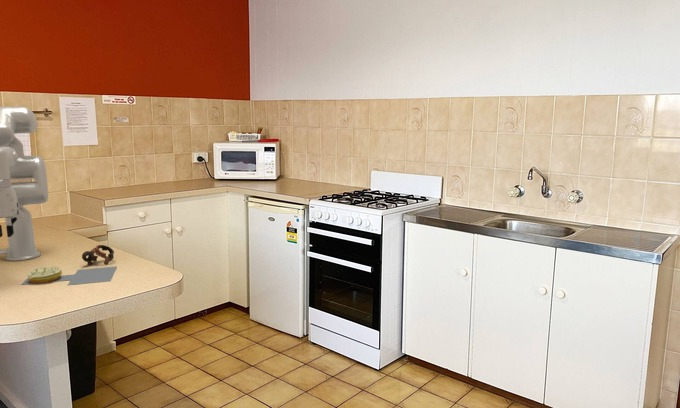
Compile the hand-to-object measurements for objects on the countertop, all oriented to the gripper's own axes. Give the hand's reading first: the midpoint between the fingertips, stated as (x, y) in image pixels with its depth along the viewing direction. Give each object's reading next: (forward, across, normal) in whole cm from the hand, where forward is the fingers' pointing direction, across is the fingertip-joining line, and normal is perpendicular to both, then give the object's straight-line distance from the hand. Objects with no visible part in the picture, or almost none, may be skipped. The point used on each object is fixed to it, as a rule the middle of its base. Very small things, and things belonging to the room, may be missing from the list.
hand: (5, 236), depth 185 cm
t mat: (+17, +19, 0) cm, 26 cm away
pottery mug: (+17, +26, +17) cm, 36 cm away
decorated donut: (+17, +11, 0) cm, 20 cm away
